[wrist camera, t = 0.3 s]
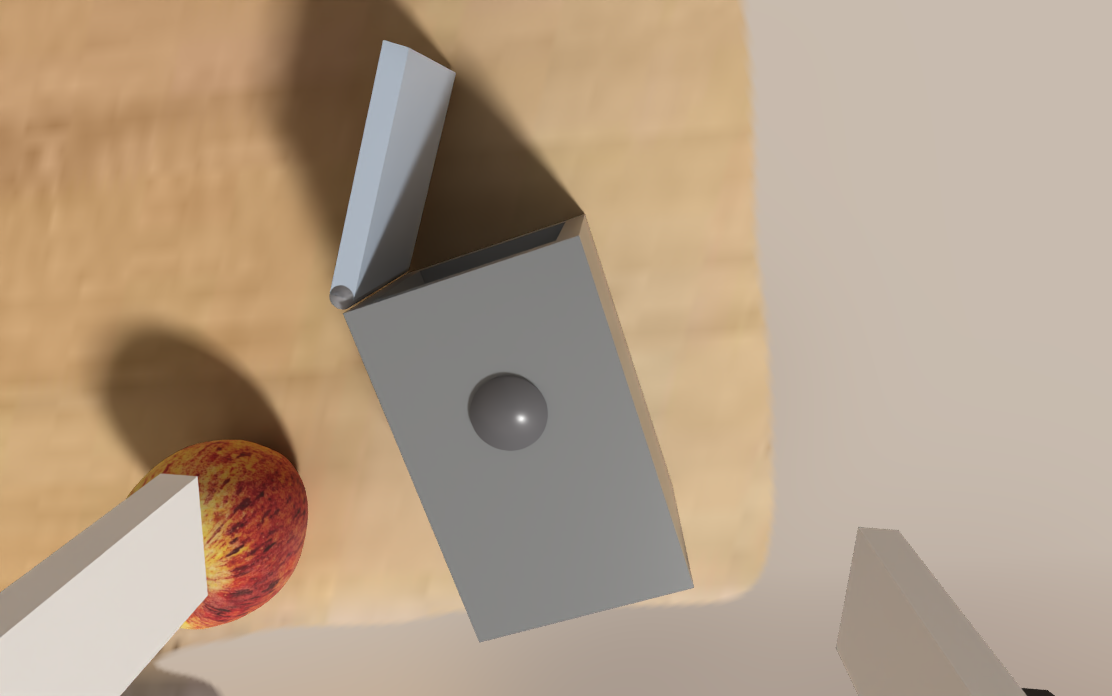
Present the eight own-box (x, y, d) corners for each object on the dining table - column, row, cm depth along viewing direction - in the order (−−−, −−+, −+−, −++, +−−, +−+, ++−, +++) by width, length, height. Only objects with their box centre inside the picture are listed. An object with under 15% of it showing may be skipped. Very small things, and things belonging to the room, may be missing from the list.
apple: (324, 569, 44) (247, 686, 34) (179, 535, 44) (61, 642, 34) (346, 432, 42) (269, 517, 32) (192, 397, 42) (69, 471, 32)
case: (407, 273, 39) (341, 314, 29) (584, 213, 38) (578, 236, 28) (507, 531, 43) (478, 645, 33) (672, 485, 41) (694, 590, 31)
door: (378, 267, 38) (313, 301, 30) (424, 63, 36) (367, 34, 27) (407, 276, 38) (351, 312, 30) (455, 72, 36) (409, 47, 27)
